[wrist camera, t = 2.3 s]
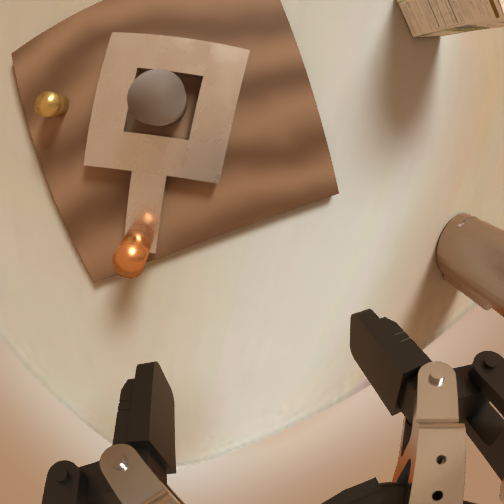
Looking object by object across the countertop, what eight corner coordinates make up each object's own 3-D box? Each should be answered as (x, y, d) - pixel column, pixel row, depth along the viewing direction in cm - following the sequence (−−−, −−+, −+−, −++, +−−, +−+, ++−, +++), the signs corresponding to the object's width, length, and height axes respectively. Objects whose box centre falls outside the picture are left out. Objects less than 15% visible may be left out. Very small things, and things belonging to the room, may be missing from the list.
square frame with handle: (115, 35, 20) (91, 8, 13) (247, 53, 23) (265, 28, 16) (82, 237, 26) (53, 269, 19) (204, 255, 29) (208, 292, 22)
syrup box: (424, -3, 23) (508, -28, 10) (441, 38, 25) (530, 25, 12) (393, -3, 23) (480, -39, 9) (412, 40, 25) (507, 20, 12)
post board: (333, 191, 30) (369, 208, 24) (97, 277, 29) (76, 314, 23) (258, -38, 20) (276, -73, 13) (17, 55, 19) (-21, 43, 12)
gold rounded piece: (71, 110, 22) (58, 108, 19) (52, 121, 22) (38, 121, 19) (65, 90, 21) (52, 86, 18) (46, 101, 21) (32, 99, 18)
